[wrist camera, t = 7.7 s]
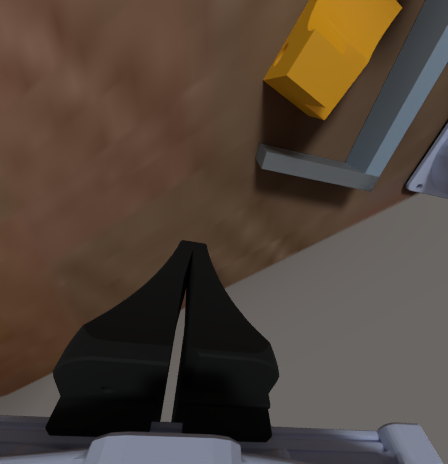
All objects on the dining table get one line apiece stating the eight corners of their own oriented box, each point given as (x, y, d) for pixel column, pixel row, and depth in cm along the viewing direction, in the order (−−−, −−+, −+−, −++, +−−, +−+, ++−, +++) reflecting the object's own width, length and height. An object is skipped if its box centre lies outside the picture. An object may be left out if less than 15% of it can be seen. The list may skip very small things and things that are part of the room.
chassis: (549, -198, 10) (656, -290, 8) (350, 178, 20) (370, 191, 17) (381, -290, 9) (445, -435, 7) (255, 158, 19) (261, 168, 16)
